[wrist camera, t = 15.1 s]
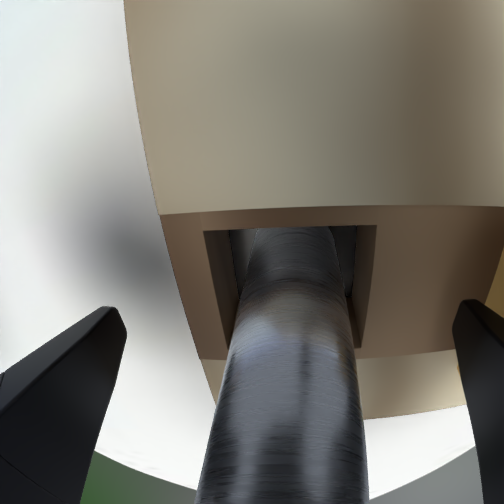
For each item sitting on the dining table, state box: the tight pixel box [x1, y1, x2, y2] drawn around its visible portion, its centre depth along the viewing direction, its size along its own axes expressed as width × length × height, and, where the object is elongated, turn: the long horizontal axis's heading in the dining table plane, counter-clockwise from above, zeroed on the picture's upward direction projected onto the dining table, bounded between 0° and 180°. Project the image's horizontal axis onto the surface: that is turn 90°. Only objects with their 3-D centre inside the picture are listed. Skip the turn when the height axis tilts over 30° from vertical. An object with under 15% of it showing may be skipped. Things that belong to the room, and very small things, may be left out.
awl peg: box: [194, 226, 369, 504], centre depth 7 cm, size 3×3×8 cm
